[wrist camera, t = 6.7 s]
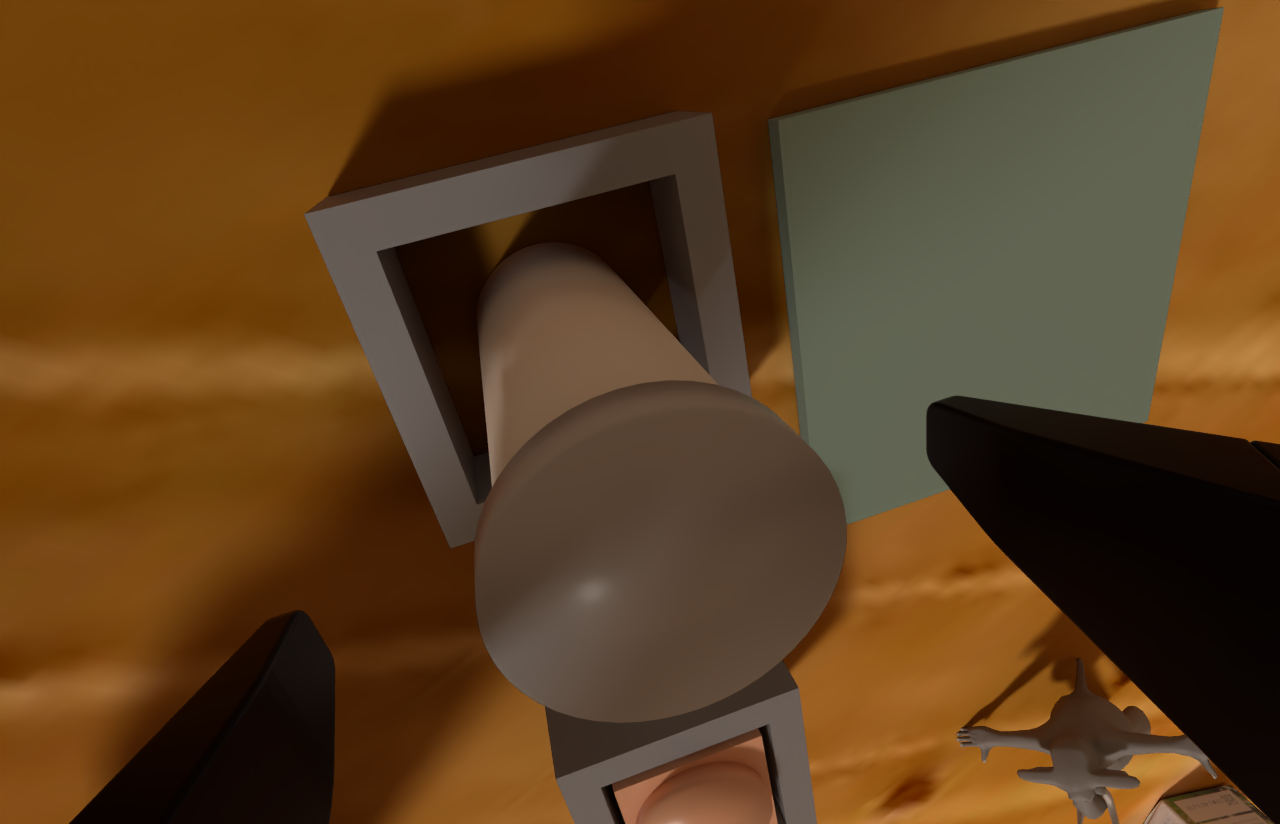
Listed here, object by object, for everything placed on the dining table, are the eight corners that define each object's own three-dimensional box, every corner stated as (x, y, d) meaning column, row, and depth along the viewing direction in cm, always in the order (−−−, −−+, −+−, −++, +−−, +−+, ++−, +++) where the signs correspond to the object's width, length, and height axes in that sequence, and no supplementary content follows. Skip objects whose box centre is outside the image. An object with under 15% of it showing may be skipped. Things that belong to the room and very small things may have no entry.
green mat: (1132, 414, 24) (1147, 421, 24) (809, 524, 23) (818, 534, 22) (1201, 9, 18) (1223, 7, 18) (767, 119, 17) (778, 120, 16)
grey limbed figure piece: (1019, 779, 34) (951, 824, 28) (990, 655, 36) (920, 671, 30) (1278, 799, 27) (1265, 864, 21) (1226, 647, 29) (1200, 665, 23)
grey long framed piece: (772, 700, 26) (837, 822, 22) (568, 777, 25) (592, 922, 21) (676, 111, 16) (760, 115, 12) (325, 197, 15) (272, 237, 10)
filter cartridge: (653, 371, 19) (855, 650, 9) (495, 419, 18) (539, 768, 9) (618, 209, 17) (835, 357, 7) (438, 257, 16) (412, 486, 7)
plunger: (721, 697, 25) (785, 843, 20) (611, 738, 25) (650, 898, 20) (703, 615, 23) (770, 754, 18) (583, 657, 23) (618, 812, 18)
